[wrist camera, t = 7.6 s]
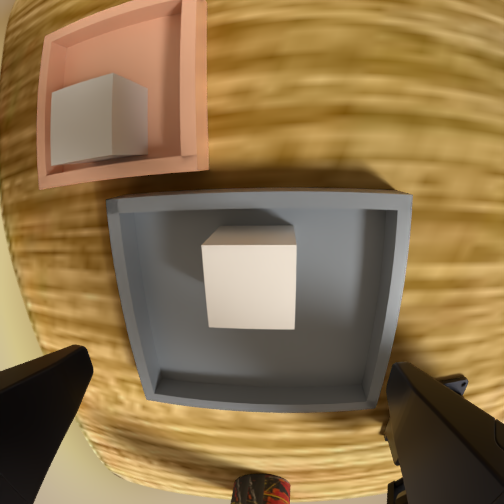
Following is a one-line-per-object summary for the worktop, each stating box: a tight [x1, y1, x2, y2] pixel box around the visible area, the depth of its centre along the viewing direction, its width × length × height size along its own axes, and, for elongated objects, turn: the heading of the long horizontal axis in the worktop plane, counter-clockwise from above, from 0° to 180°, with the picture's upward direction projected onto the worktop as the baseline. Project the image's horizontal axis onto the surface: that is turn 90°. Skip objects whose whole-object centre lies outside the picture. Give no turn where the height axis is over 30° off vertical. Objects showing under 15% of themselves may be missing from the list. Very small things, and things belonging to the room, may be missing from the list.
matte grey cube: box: [50, 73, 148, 166], centre depth 14 cm, size 4×4×4 cm
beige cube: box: [201, 225, 297, 329], centre depth 15 cm, size 4×4×4 cm
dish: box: [37, 0, 209, 190], centre depth 14 cm, size 11×11×2 cm
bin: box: [106, 187, 413, 413], centre depth 17 cm, size 16×14×2 cm
